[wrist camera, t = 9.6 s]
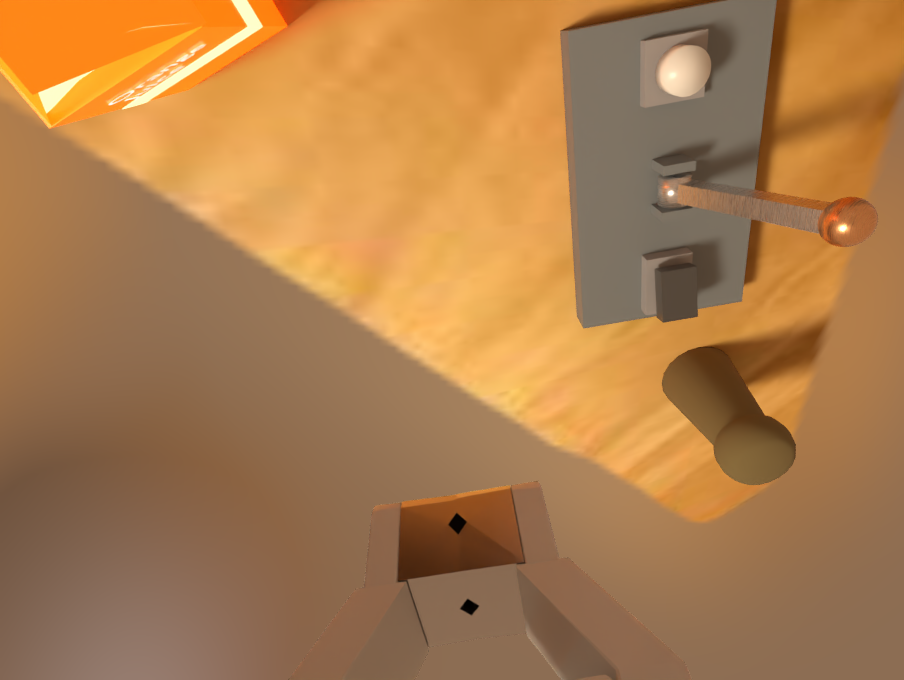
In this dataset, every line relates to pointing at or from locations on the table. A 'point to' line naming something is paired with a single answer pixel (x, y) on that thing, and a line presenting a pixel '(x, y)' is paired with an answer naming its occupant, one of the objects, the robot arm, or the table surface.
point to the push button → (683, 70)
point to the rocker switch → (676, 292)
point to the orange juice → (122, 49)
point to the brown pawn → (729, 416)
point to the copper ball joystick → (774, 208)
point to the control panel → (660, 152)
